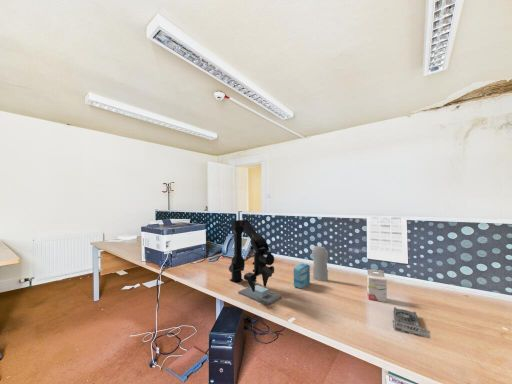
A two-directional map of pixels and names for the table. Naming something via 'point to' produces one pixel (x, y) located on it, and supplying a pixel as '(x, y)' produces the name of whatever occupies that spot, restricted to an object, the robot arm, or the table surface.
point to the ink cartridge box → (376, 286)
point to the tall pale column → (320, 263)
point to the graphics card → (408, 322)
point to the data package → (301, 275)
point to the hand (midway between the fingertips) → (259, 289)
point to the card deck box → (259, 291)
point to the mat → (265, 300)
